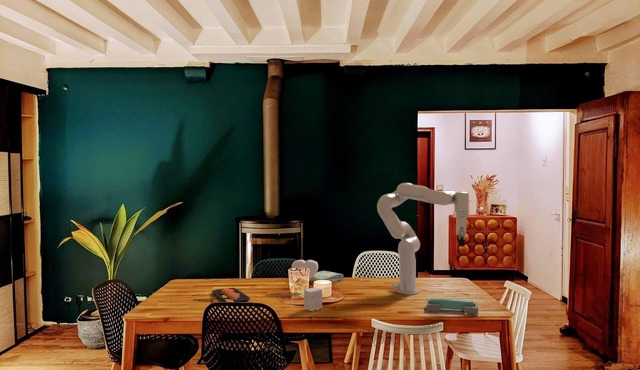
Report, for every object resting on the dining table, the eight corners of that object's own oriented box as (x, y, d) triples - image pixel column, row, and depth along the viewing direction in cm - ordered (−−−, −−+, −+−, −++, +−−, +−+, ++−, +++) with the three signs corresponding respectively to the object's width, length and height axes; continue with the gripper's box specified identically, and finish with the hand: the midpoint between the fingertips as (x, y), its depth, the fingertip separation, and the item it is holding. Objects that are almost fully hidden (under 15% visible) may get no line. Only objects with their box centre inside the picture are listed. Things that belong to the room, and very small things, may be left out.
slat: (430, 307, 235) (430, 299, 235) (430, 306, 238) (430, 297, 238) (473, 310, 230) (473, 302, 230) (472, 309, 233) (473, 300, 233)
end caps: (426, 311, 233) (426, 304, 233) (426, 306, 242) (426, 299, 242) (478, 315, 226) (478, 308, 226) (476, 309, 235) (476, 302, 235)
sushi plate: (251, 302, 253) (251, 295, 253) (198, 311, 238) (197, 304, 238) (233, 290, 278) (233, 283, 278) (184, 297, 263) (183, 291, 263)
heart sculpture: (291, 290, 274) (291, 261, 273) (293, 288, 279) (293, 259, 278) (317, 291, 272) (316, 261, 271) (318, 289, 276) (318, 259, 276)
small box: (316, 306, 242) (315, 287, 242) (322, 309, 238) (322, 289, 237) (303, 309, 237) (303, 289, 237) (310, 312, 233) (310, 292, 232)
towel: (301, 280, 299) (301, 273, 299) (326, 276, 312) (326, 268, 312) (318, 286, 285) (318, 278, 285) (344, 281, 298) (344, 273, 298)
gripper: (454, 212, 261) (454, 242, 262) (454, 215, 245) (454, 247, 245) (467, 212, 259) (467, 242, 260) (469, 215, 243) (469, 248, 243)
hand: (461, 245), depth 253 cm, fingers open, 9 cm apart
